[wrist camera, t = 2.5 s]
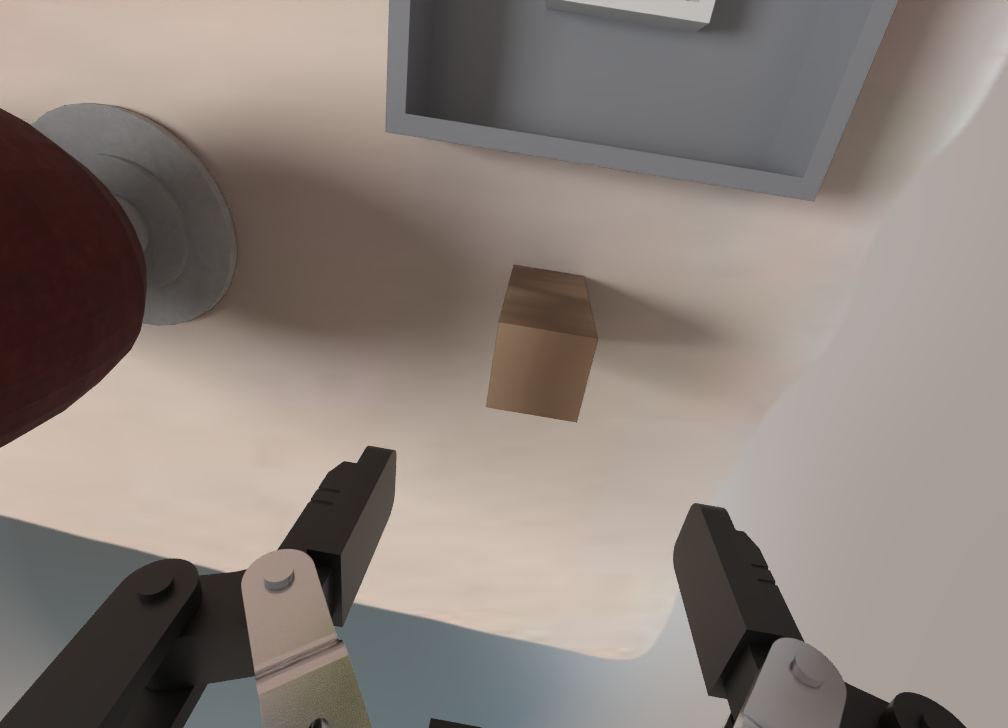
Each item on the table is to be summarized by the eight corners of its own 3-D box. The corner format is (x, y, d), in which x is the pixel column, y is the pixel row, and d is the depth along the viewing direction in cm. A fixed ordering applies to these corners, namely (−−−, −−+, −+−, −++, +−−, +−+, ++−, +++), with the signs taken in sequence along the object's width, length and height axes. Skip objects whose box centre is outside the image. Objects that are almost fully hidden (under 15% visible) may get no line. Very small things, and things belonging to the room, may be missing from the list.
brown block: (503, 329, 29) (486, 406, 21) (513, 264, 27) (498, 322, 19) (569, 340, 29) (576, 422, 21) (583, 276, 27) (598, 338, 19)
